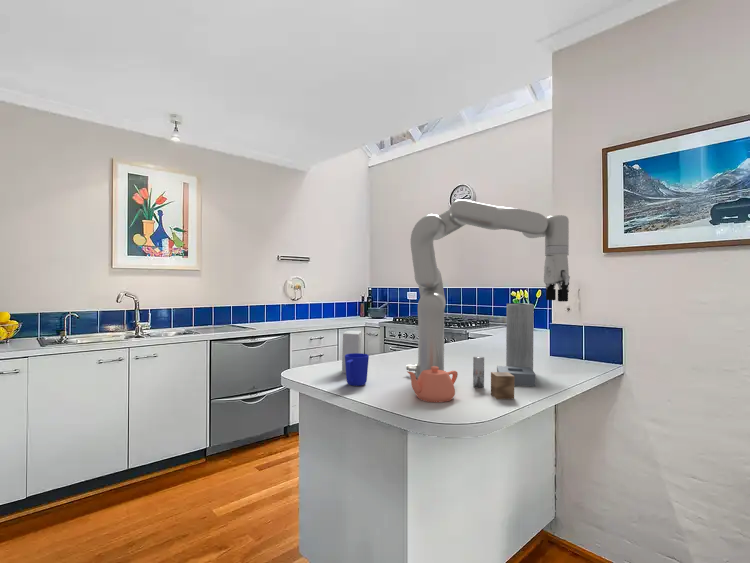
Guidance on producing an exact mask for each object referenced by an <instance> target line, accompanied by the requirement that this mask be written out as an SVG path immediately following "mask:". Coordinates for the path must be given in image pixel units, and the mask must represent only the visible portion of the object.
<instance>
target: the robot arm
mask: <svg viewBox="0 0 750 563" xmlns="http://www.w3.org/2000/svg"><path fill="white" fill-rule="evenodd" d="M569 223H570V221H569V217H568V216H567V215H562V214H561V215H560V214H559V215H557V214H556V215H549V216H547V217H545V216H544V214H541V213H539V212H536V211H531V210H526V209H522V208H521V209H520V208H514V207H506V206H498V205H492V204H486V203H482V202H477V201H473V200H468V199H456V200H455V201H453V202H452V203H451V205H450V206H449V208H448V209H447V210H446V211H445V212H443V213H441V214H439V215H438V214H435V213H434V214H433V213H430V214H426V215H424V216H423V217H422V218H420V219H419V220H418V221H417V222H416V223H415V225H414V227H413V228H412V231H411V234H410V250H411V257H412V258H411V259H412V266H413V272H414V281H415V282H416V285H417V286H418V290H419V296H420V298H419V299H418V302H417V323H418V324H417V330H418V331H417V334H418V338H417V340H418V343H417V346H418V347H417V348H418V351H417V353H418V354H417V357H418V359H417V363H416V364H415V365H413V364H407V365H406V368H405V369H406V370H407V371H408V372H413V373H414V374H415V376H416V380H417V379H418V377H419V375H420V374H421V372H422V371H423V370H429V369H431V367H432V366H437V367H439V369H438V370H443V371H445V308H446V306H447V305H446V296H445V290H444V285H443V284H444V283H443V279H442V273H441V271H440V269H439V268H438V266H437V261H436V252H435V247H434V241H437V240H438V241H439V240H440V239H443V238H445V237H446V236H448V235H450V234H452V233H453V232H456V231H458V230H459V229H461V228H463V227H465V226H466V225H468V226H473V227H478V228H482V229H486V230H489V231H496V230H507V231H515V232H519V233H522V235H523V236H524V237H525V238H529V239H537V238H544V257H545V260H544V267H543V283H544V284H545V300H546V301H556V299H557V302H568V301H569V288H570V287H569V285H570V279H571V276H570V275H569V273H570V272H569V270H570V269H569V260H568V259H569V258H568V256H569V254H570V252H569V251H570V250H569V248H570V245H569V242H570V240H569V238H570V236H569V232H570V231H569V230H570V229H569ZM556 285H557V287H558V289H556ZM556 290H557V292H556ZM556 293H557V296H556ZM556 297H557V298H556Z"/></svg>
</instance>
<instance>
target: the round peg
mask: <svg viewBox="0 0 750 563" xmlns="http://www.w3.org/2000/svg"><path fill="white" fill-rule="evenodd" d="M472 360H473V362H472V366H473V367H472V369H473V370H472V387H473V388H474V389H485V357H484V356H478V355H477V356H473V358H472Z"/></svg>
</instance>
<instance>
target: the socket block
mask: <svg viewBox="0 0 750 563" xmlns="http://www.w3.org/2000/svg"><path fill="white" fill-rule="evenodd" d="M496 372H509V373H510V374H512V375H513V376H515V379H514V386H523V387H524V386H525V387H536V384H537V380H536V379H537V378H536V377H537V376H536V375H537V374H536V372H535V371H534V369H533V370H532V368H530V367H511V366H506V365H497V367H496Z"/></svg>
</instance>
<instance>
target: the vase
mask: <svg viewBox="0 0 750 563" xmlns="http://www.w3.org/2000/svg"><path fill="white" fill-rule="evenodd" d="M534 307H535V306H534V304H533V303H523V302H522V303H521V302H520V303H519V302H518V303H517V302H516V303H514V302H513V303H512V302H511V303H510V302H509V303H506V327H505V328H506V331H505V332H506V333H505V334H506V336H505V338H506V342H505V345H506V350H505V352H506V354H505V355H506V358H505V362H506V364H505V366H511V367H530V368H532V370H533V371H534V323H535V322H534V320H535V318H534V315H535V314H534V309H535V308H534Z"/></svg>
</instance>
